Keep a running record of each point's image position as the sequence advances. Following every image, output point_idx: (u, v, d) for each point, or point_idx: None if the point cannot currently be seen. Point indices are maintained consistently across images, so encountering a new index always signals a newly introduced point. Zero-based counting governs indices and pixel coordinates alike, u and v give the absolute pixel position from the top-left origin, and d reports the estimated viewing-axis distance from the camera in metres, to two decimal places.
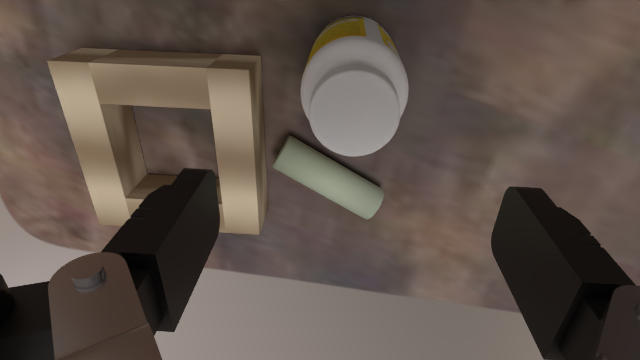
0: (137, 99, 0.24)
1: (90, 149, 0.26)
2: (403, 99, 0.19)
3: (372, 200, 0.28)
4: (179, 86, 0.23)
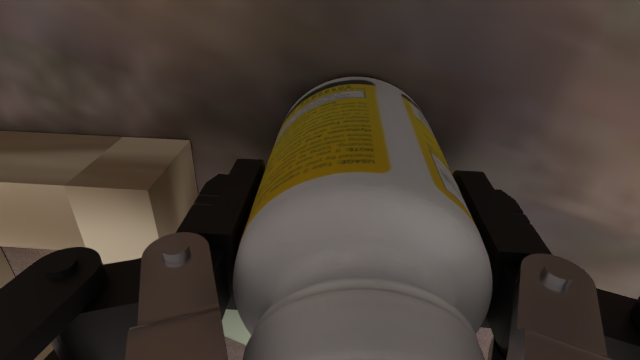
0: None
1: None
2: (481, 319, 0.08)
3: None
4: (20, 215, 0.12)
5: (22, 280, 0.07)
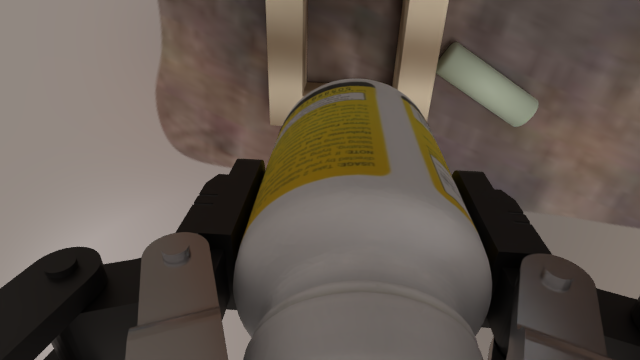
0: None
1: (281, 42, 0.27)
2: (481, 321, 0.08)
3: (525, 111, 0.30)
4: None
5: (22, 280, 0.07)
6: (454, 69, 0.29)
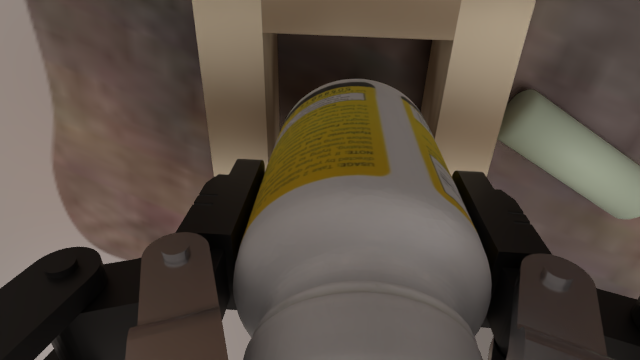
0: (330, 23, 0.14)
1: (230, 113, 0.16)
2: (480, 321, 0.08)
3: None
4: None
5: (22, 280, 0.07)
6: (547, 119, 0.17)
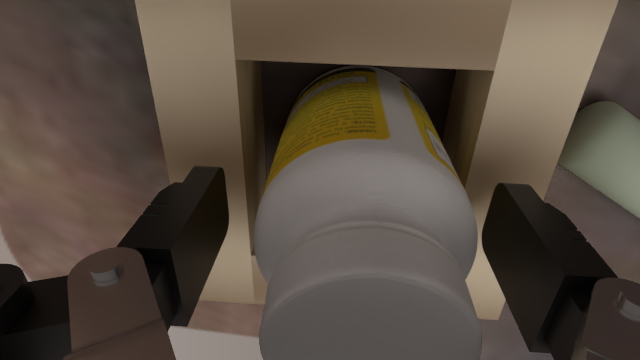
0: (327, 48, 0.10)
1: (197, 161, 0.12)
2: (468, 267, 0.09)
3: None
4: (437, 15, 0.10)
5: None
6: (633, 116, 0.13)
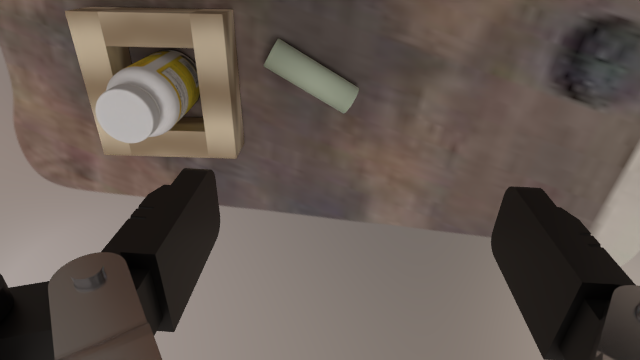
0: (135, 41, 0.30)
1: (97, 86, 0.32)
2: (170, 106, 0.29)
3: None
4: (168, 29, 0.30)
5: None
6: None
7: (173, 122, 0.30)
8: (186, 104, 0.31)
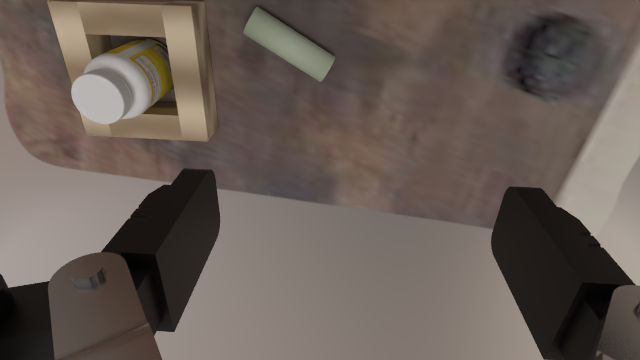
0: (112, 30, 0.33)
1: (79, 71, 0.35)
2: (142, 91, 0.31)
3: (315, 76, 0.35)
4: (142, 19, 0.32)
5: None
6: (250, 37, 0.34)
7: (145, 106, 0.32)
8: (159, 89, 0.34)
